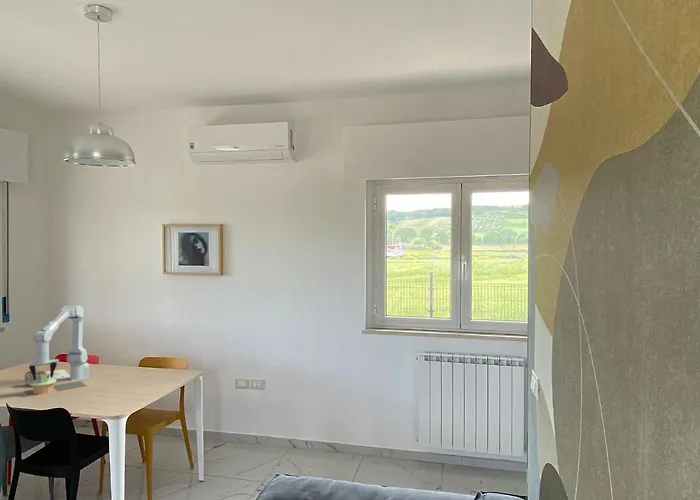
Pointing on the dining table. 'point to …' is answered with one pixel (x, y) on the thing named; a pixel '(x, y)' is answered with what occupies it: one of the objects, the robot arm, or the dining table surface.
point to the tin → (30, 377)
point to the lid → (42, 380)
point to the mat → (69, 386)
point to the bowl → (43, 389)
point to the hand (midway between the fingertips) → (43, 378)
